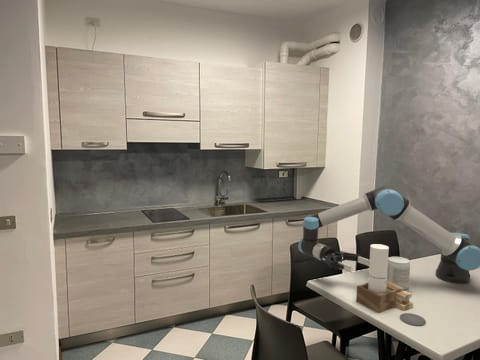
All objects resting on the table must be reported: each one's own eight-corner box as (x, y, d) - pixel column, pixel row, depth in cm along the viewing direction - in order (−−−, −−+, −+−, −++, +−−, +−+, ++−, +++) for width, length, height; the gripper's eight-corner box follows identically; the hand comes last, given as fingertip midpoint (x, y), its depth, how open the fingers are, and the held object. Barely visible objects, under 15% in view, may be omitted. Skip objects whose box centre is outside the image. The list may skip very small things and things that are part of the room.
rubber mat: (417, 314, 142) (417, 312, 142) (430, 325, 133) (430, 324, 133) (395, 314, 141) (395, 313, 141) (407, 326, 132) (407, 325, 132)
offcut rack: (382, 293, 161) (383, 278, 160) (413, 307, 148) (414, 291, 147) (356, 301, 153) (356, 285, 152) (386, 316, 139) (387, 299, 139)
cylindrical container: (363, 301, 153) (366, 244, 150) (377, 299, 155) (380, 243, 152) (374, 308, 146) (378, 249, 143) (389, 306, 148) (392, 248, 145)
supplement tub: (412, 291, 163) (415, 260, 161) (400, 296, 158) (402, 264, 156) (393, 284, 171) (395, 254, 169) (381, 288, 166) (383, 258, 164)
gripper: (341, 256, 181) (377, 269, 163) (305, 265, 167) (341, 280, 149) (341, 241, 180) (378, 253, 162) (306, 250, 166) (342, 263, 148)
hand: (360, 266), depth 156 cm, fingers open, 13 cm apart
